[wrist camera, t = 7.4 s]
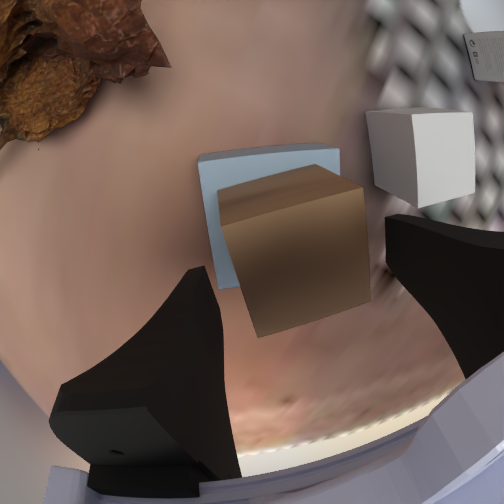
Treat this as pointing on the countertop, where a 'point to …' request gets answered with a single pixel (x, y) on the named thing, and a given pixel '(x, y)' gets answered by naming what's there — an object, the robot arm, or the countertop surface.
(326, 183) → the walnut block
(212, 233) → the base block
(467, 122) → the grey block
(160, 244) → the countertop surface
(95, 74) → the seed pod
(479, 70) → the skincare box
